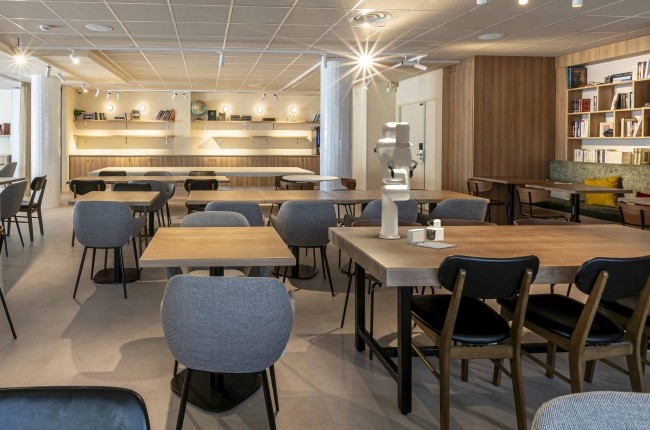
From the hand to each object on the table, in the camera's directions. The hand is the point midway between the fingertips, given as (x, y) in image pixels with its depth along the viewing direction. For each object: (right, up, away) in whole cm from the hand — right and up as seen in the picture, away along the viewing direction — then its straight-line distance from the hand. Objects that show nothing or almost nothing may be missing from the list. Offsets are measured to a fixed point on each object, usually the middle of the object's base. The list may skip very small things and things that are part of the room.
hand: (401, 177), depth 339 cm
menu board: (+10, -36, +16) cm, 40 cm away
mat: (+19, -37, +5) cm, 42 cm away
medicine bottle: (+22, -35, +26) cm, 49 cm away
